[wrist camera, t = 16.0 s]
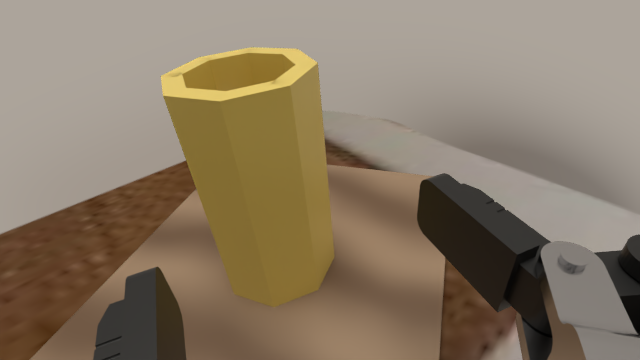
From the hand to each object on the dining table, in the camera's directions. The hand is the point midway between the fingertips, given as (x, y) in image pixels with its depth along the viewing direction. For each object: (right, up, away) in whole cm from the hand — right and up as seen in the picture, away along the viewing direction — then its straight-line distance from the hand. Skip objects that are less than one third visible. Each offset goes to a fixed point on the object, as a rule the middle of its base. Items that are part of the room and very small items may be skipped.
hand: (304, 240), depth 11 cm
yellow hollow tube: (-2, -3, +10) cm, 10 cm away
